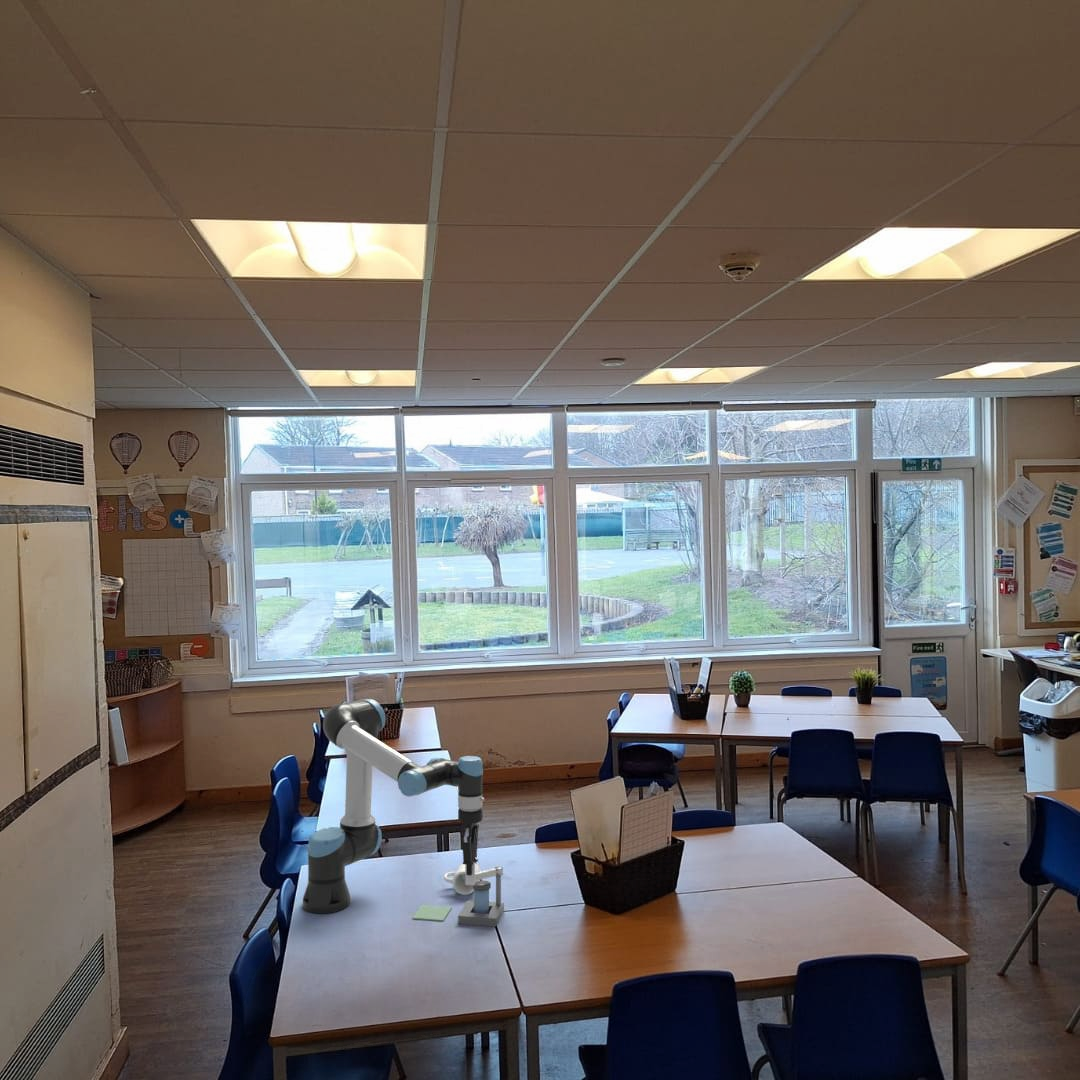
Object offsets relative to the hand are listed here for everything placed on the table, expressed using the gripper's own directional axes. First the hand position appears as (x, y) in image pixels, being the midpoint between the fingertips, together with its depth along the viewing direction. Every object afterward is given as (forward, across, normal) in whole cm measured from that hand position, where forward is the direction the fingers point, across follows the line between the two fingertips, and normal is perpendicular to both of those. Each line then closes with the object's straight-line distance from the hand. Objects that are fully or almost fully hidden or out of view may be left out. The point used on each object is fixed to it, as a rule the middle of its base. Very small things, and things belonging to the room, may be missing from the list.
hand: (470, 884), depth 281 cm
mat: (+13, +7, +14) cm, 20 cm away
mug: (+13, +28, +10) cm, 32 cm away
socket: (+13, +7, -2) cm, 15 cm away
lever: (+1, +8, -3) cm, 9 cm away
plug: (+13, +7, -2) cm, 15 cm away
